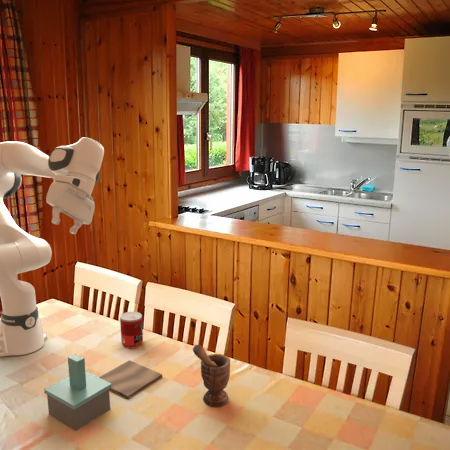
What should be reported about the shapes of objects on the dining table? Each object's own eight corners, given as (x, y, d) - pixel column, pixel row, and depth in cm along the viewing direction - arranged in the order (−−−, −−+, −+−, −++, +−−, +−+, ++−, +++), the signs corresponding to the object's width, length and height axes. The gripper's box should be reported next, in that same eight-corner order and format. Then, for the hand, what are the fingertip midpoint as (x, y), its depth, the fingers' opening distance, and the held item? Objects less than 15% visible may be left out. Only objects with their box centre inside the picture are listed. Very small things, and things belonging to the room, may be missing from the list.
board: (94, 382, 154) (94, 379, 153) (129, 362, 166) (129, 360, 165) (127, 399, 145) (127, 396, 145) (162, 377, 157) (162, 374, 157)
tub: (48, 414, 138) (47, 392, 136) (83, 394, 147) (81, 374, 145) (76, 430, 131) (74, 408, 129) (110, 409, 140) (109, 387, 139)
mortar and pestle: (214, 417, 137) (214, 353, 132) (189, 408, 141) (188, 345, 136) (234, 397, 147) (235, 337, 142) (210, 388, 151) (211, 329, 146)
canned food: (138, 349, 175) (137, 321, 172) (117, 347, 176) (116, 319, 174) (146, 339, 182) (145, 312, 179) (126, 337, 184) (124, 310, 181)
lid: (44, 396, 136) (41, 360, 133) (82, 375, 146) (80, 342, 144) (74, 413, 129) (71, 375, 126) (111, 390, 139) (109, 355, 136)
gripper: (87, 198, 161) (74, 237, 158) (50, 172, 143) (34, 216, 139) (103, 200, 159) (90, 240, 156) (68, 174, 141) (52, 219, 137)
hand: (63, 228), depth 147 cm, fingers open, 8 cm apart
